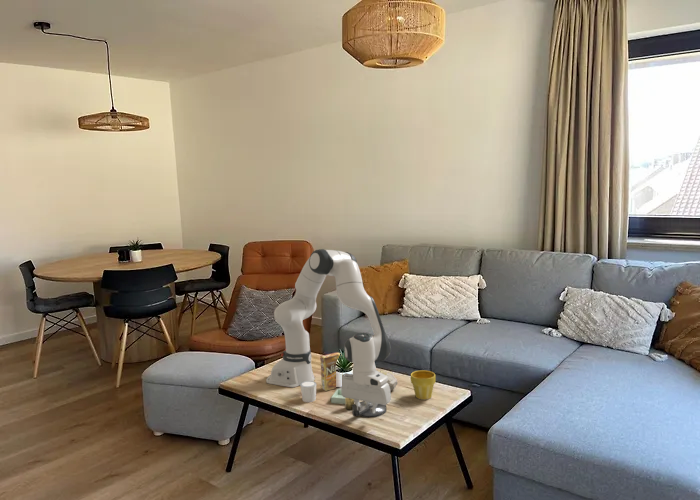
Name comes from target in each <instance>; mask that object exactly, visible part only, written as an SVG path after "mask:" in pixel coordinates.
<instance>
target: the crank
mask: <svg viewBox="0 0 700 500" xmlns="http://www.w3.org/2000/svg"><path fill="white" fill-rule="evenodd" d="M373 406H374V405H372V402H367V401H365V406H363V407H362V408H363V409H362V410H361V411H358V410H357V406H356V404H355V403H354V404H353V405H352V408H353V410H352V416H354V417H358V416H360V414H362V413H363V412H365V411H367V410H369V409H370V408H372V407H373Z"/></svg>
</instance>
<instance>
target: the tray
mask: <svg viewBox="0 0 700 500" xmlns="http://www.w3.org/2000/svg"><path fill="white" fill-rule="evenodd" d="M330 403H331V404H341V405H345V397H343V396H342V394H341V388H336V389H335V391H334V392H333V394H332V396H331V397H330Z"/></svg>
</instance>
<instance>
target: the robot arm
mask: <svg viewBox="0 0 700 500" xmlns="http://www.w3.org/2000/svg"><path fill="white" fill-rule="evenodd" d="M327 276H330V277H334V279H335V289H336V295H337V297H338V300H339V302H340V303H341V304H342V305H343V306H345V307H347V308H350V309H352V310H356V311H359V312H362V313H364V314H365V315H366V316H367V318H368V320H369V323H370V326H371V327H370V328H371V329H372V332H373V335H372V334H371V333H369V332H357V333H355V334H354V335H353V336H352V337H350V338H348V339H346V341H345V342H344V344H343V350H344V355H343V356H344V358H345V359H346V360H347V361H349V362H350V363H353V364H352V365H353V366H352V373H344V374H343V373H342V387H340V389H341V394H342V396H343V397H345V398H351V399H354V404H356V406H357V410H358V411H361V410H362V409H363V408H362V405H361V404H360V402H362V401H367V402H372V405H374V406H373V407H372V408H370V413H373V414H374V413H375V412H376V407H377V405H378V404H382V405H386V406H387V405H388V404H389V403H390V402H391V400H392V395H391V393H392V392H391V391H390V387H389V384H388V383H387V381H388V376H386V375H384V374H382V373H380V371H378V370H377V367H376V363H375V361H385V360H386V359H387V358H388V357H389V356H390V354H391V353H392V348H391V342H390V340H389V338H388V336H387V333H386V331H385V328H384V325H383V321H382V318H381V316H380V312H379V309H378V307H377V304H376V302H375V300H374V298H373V296H370V295H369V294H368V293H367V291H366V289H365V288H364V283H363V278H362V273H361V270H360V267H359V264H358V262H357V258H356V257H355V255H354V254H352V253H350V252H349V251H342V250H338V249H337V250H336V249H325V248H320V249H314V250H313V251H312V252H311V254H310V256H309V257H308V259H307V260H306V262H305V264H304V265H303V267H302V269H301V271H300V273H299V275H298V277H297V279H296V282H295V283H294V284H295V285H294V288H295V293H294V295H293V297H292V298H290V299H288V300H286V301H283V302H281V303H280V304H279V305H278V306H277V307H276V308H275V309H274V312H273V317H274V320H275V322H276V323H277V324H278V325H279V326H280V327H281V328H282V330H283V331H282V332H283V334H284V340H285V343H284V344H285V349H284V350H283V352H282V353H281V357H282V358H281V359H280V360H278V361H277V362H276V363H275V364H274V365H273V367H272V369H271V373H270V374H269V375H268V377H266V380H265V381H266V384H270V385H275V386H281V387H288V388H296V387H298V386H300V384H301V383H302V382H305V381H314V380H315V379H316V378H315V377H316V376H315V375H314V373H313V367H312V350H311V347H310V345H311V344H310V333H309V332H308V331H307V330H306V329H305V327H304V322H303V320H306V319H308V318H310V317H311V316H312V315H313V314H314V313H315V312H316V310H317V297H318V294H319V292H320V290H321V287H322V286H323V283H324V281H326V278H327ZM314 382H315V381H314Z"/></svg>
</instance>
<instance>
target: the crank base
mask: <svg viewBox="0 0 700 500" xmlns="http://www.w3.org/2000/svg"><path fill="white" fill-rule="evenodd" d="M359 402H360V404H361V405H362V407H363V406H365V401H359ZM387 408H388V407H387V404H386V405H382V404H378V405H377V407H376V412H375V413H374V414H373V413H370V409H369V410H367V411H365V412H363V413H362V414H360V415H359V416H360V417H364V418H376V417H380V416H383V415H384V414H386V412H387Z"/></svg>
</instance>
